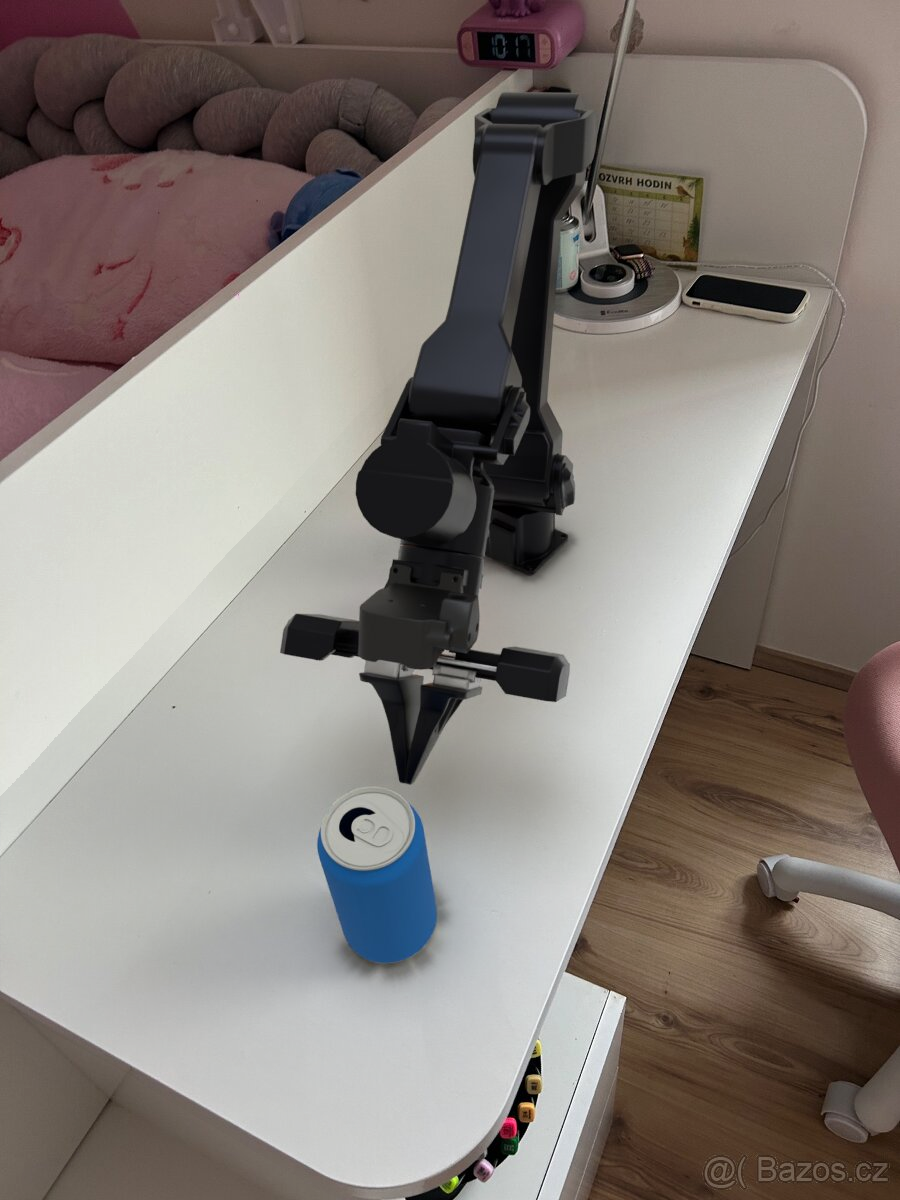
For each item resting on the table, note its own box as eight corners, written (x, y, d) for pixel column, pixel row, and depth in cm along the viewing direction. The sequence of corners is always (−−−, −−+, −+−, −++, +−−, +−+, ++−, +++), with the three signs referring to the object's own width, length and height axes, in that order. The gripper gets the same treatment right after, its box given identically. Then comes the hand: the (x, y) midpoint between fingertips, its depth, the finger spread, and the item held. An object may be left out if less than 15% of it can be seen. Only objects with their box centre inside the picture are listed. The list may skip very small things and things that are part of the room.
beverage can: (377, 864, 66) (354, 765, 58) (455, 904, 64) (442, 806, 55) (324, 940, 62) (291, 846, 54) (405, 986, 60) (383, 894, 52)
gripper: (261, 521, 56) (223, 774, 56) (565, 563, 52) (522, 839, 52) (329, 538, 67) (297, 750, 67) (585, 574, 62) (550, 802, 63)
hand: (406, 782), depth 62 cm, fingers closed
